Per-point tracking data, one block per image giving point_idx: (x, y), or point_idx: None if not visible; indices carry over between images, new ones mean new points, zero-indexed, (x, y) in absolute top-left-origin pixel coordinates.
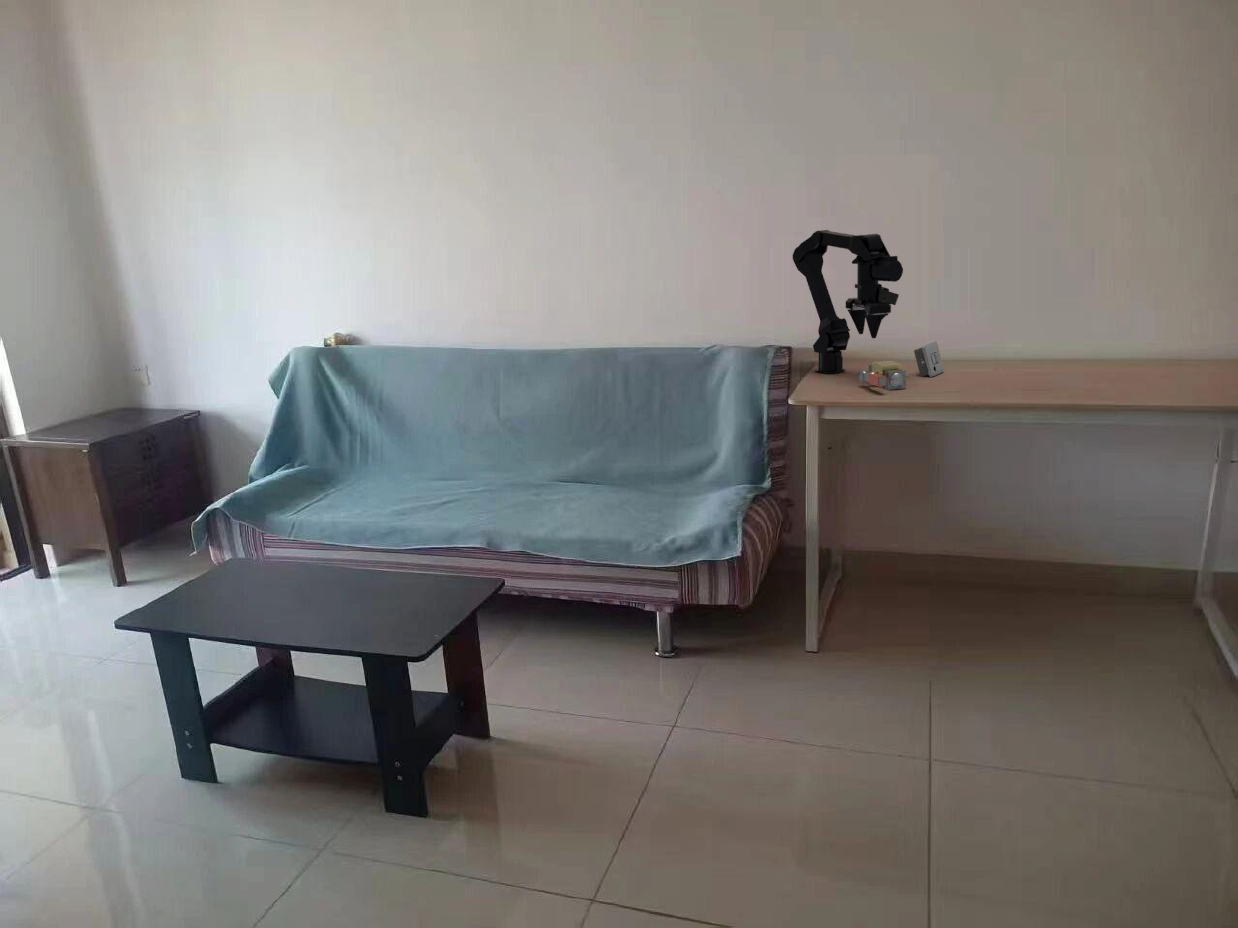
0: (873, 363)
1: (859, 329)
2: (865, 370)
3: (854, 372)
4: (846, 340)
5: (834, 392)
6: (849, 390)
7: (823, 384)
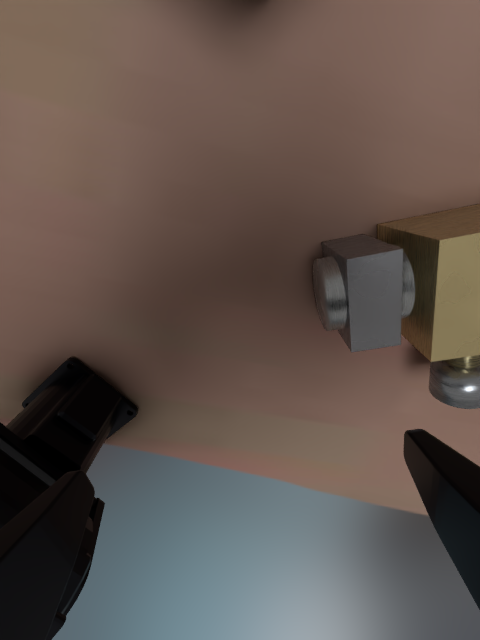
0: (451, 356)
1: (70, 546)
2: (477, 388)
3: (101, 326)
4: (2, 476)
5: (471, 448)
6: None
7: (321, 454)
